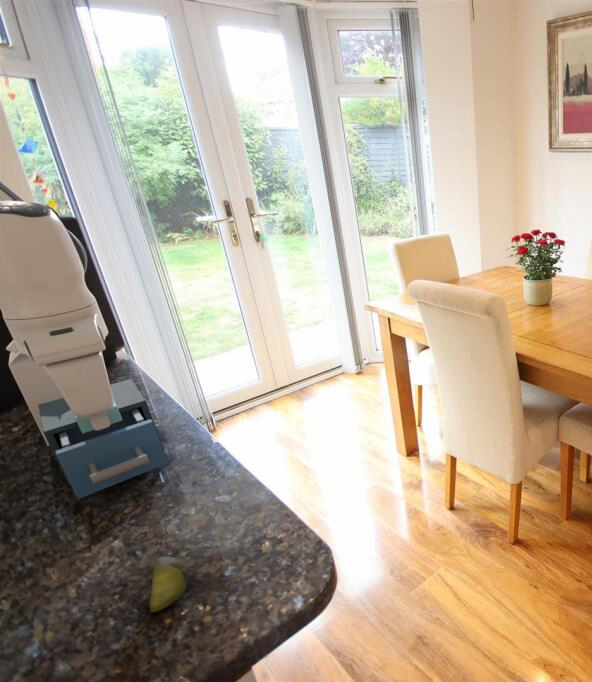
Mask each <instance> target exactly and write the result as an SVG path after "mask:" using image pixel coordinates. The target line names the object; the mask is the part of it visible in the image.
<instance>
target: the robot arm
mask: <svg viewBox="0 0 592 682" xmlns="http://www.w3.org/2000/svg"><path fill="white" fill-rule="evenodd" d="M87 267H88V255H87V252H86V249H85V247H84V245H83V244H82V242H81V241H80V240H79V238H77V236H75V235H74V234H73V232H71V231H70V230H68V229H67V228H66V226H65V225H64V223H63V222H62V220H61V219H60V218H59V216H58V215H57V214H56V213H55V212H54V211H53V209H51V208H50V207H48V206H47V205H43V204H41V203H37V202H33V201H26V200H23V199H22V198H21V197H20V196H19V195H17V194H16V193H15V192H14V191H12V190H11V189H10V188H8V187H7V186H6V185H4V183H3V182H1V181H0V311H1V314H2V318H3V320H4V322H5V325H6V327H7V329H8V331H9V333H10V335H11V338H12V339H13V340H14V342H15V344H16V346H17V348H18V350H19V352H20V353H22V354H26V355H28V356H29V357H31V358H32V359H33V361H34V362H35V363H36V365H38V366H41V365H43V367H44V368H45V369H46V371H47V372H48V374H49V376H50V377H51V379H52V380H53V382H54V383H55V385H56V387H57V388H58V390H59V391H60V393H61V395H62V396H63V398H64V399H65V401H66V402H67V404H68V406H69V407H70V408H71V410H72V411H73V413H74V414H75V415H76V416H77V417H78V418H80V419H84V418H89V420H90V422H91V424H92V426H93V428H94V429H95V430H101V429H104V428H107V427H109V426H110V421H109V419H108V416H107V413H106V412H108V411H110V410H112V409H113V408H114V401H113V395H112V391H111V387H110V385H111V383H110V380H109V376H108V372H107V371H108V370H107V367H106V364H105V360H104V355H103V351H105V350H106V348H107V347H106V343H105V340H106V337H107V336H108V335H109V330H108V327H107V325H106V323H105V319H104V317H103V315H102V312H101V310H100V307H99V304H98V302H97V299H96V297H95V296H94V295H93V293H92V292H91V291H90V290H89V288H88V286H87V284H86V279H85V275H86V272H87ZM13 340H12V341H13Z"/></svg>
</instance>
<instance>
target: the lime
mask: <svg viewBox="0 0 592 682" xmlns="http://www.w3.org/2000/svg"><path fill="white" fill-rule="evenodd" d="M187 584H188V571H187V569H186V566H185V564H184V563H183V562H182V561H181V560H180V559H179V558H177V557H174V556H159V557H157V558H156V559H155V560H154V563H153V570H152V581H151V590H150V591H151V593H150V597H149V613H150V614H152V613H159V612H160V611H163V610H164V609H166V608H168V607H170V606H171V605H173V604H174V603H175V602H176V601H178V599H179V598H180V597H181V596H182V595H183V594H184V592H185V590H186V589H187Z"/></svg>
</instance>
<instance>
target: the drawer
mask: <svg viewBox="0 0 592 682" xmlns="http://www.w3.org/2000/svg"><path fill="white" fill-rule="evenodd" d="M120 415H121V418H122V421H119V422H116V423H113V424H110V426H109V427H107V428H104V429H101V430H92V431H89V432H86V433H82V432H81V429H80V427H79V426H78V427H75V428H72V429H69V430H65V431H62V432H59V436H60V440H61V444H62V447H63V449H60V450H57V451H55V452H56V456H57V458H58V460H59V462H60V464H61V466H62V468H63V470H64V472H65V474H66V476H67V478H68V480H69V482H70V484H71V485H70V486H71V489H72V491H73V492H74V495H75V497H76V499H77V500H79V499H82V498H84V497H87V496H89V495H92V494H95V493H97V492H101V491H102V490H104V489H107V488H109V487H112V486H115V485H117V484H120V483H122V482H124V481H127V480H130V479H132V478H135V477H137V476H140V475H143V474H145V473H148V472H150V471H153V470H154V469H158V468H160V467H162V466H165V465H167V464H169V461H168V459H167V456H166V454H165V450H163V448H162V445H163V444H162V445H161V443H160V440H161V439H160V440H159V437H160V436H159V437H158V435H157V432H158V431H157V432H156V430H155V427H154V424H155V423H154V424H153V422H152V420H151V419H149V420H146V421H144V419H143V417H142V416H141V414H140V413H139V411H138V409H137V408H135V409H132V410H128V411H125V412H122V413H120Z"/></svg>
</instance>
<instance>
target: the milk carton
mask: <svg viewBox="0 0 592 682" xmlns="http://www.w3.org/2000/svg"><path fill="white" fill-rule="evenodd" d="M5 350H6V351H8V352H10V353H9V358H8V367H9V370H10V371H11V372H10V373H11V374H12V376H13V378H14V380H15V382H16V384H17V386H18V388H19V390H20V392H21V394H22V397H23V398H24V401H25V402H26V405H27V407H28V410H29V411H30V413H31V415H32V417H33V419H34V421H35V423H36V425H37V428H38V429H39V431H40V434H41V435H42V438H43V440H44V441H45V443H46V445H47V447H50V445H49V443H48V441H47V439H46V436H45V435H44V433H43V428H42V423H41V418H40V413H39V408H38V405H40V404H43V403H47V402H50V401H54V400H57V399H61V398H63V396H62V395H61V393H60V391H59V390H58V388H57V387H56V385H55V383H54V382H53V380H52V379H51V377H50V376H49V374H48V372H47V371H46V369H45V368H44V367H43V365H41V366H38V365H36V363H35V362H34V361H33V359H32V358H31V357H29V356H28V355H26V354H22V353H20V352H19V350H18V348H17V346H16V344H15V342H14V340H12V341H11V342H9V344H8V345H7V346H6V348H5Z"/></svg>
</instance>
